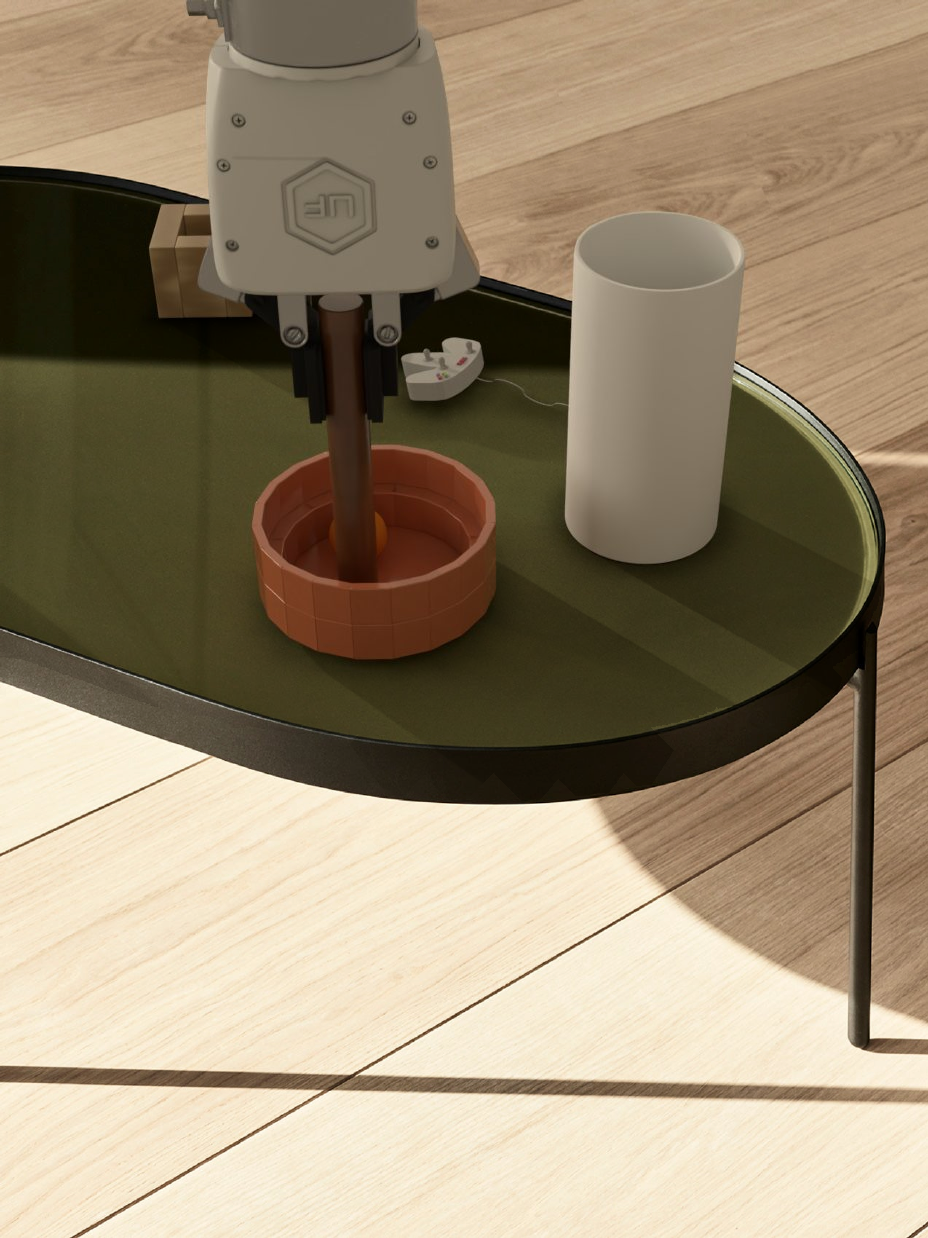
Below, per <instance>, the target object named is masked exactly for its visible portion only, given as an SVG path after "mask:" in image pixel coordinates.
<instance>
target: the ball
mask: <svg viewBox="0 0 928 1238" xmlns="http://www.w3.org/2000/svg"><path fill="white" fill-rule="evenodd" d="M375 523H376V541H377V557H378V556H379V555H380V554H381V552H382V551H383V549H384V547H385V545H386V541H387V528H386V525H385V523H384V521H383V519H382V518H381V516H380V515H379V514H378V513H377V512H375ZM329 540H330V544H331V546H332V548H333V550H334V552H335V553H336V544H335V531H334V519H333V521H332V523H331V526H330V530H329Z"/></svg>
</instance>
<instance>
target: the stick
mask: <svg viewBox="0 0 928 1238" xmlns="http://www.w3.org/2000/svg"><path fill="white" fill-rule="evenodd" d="M364 305H365V304H364V300H363V298H362V297H361V295H360V294H349V295H322V297H320V298H319V300H318V302H317V312H318V314H319V326H320V339H321V342H322V356H323V370H324V384H325V398H326V411H327V416H326V433H327V448H328V451H329V463H330V476H331V490H332V504H333V517H334V531H335V544H336V558H337V572H338V581H343V582H348V583H379V578H378V559H377V541H376V523H375V505H374V486H373V468H372V450H371V445H372V436H371V435H372V433H371V420H367V405H366V388H365V371H364V353H363V348H364V339H365V306H364Z"/></svg>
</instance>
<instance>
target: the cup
mask: <svg viewBox="0 0 928 1238" xmlns="http://www.w3.org/2000/svg"><path fill="white" fill-rule="evenodd" d="M574 245H575V246H574V251H573V269H572V270H573V273H572V296H571V297H572V299H571V301H572V302H571V326H570V327H571V328H570V353H569V355H570V356H569V357H570V358H569V382H568V383H569V384H568V385H569V387H568V405H569V406H568V413H567V439H566V440H567V442H566V446H567V447H566V470H565V471H566V473H565V504H564V520H565V524H566V527H567V529H568V531H569V533H570V534H571V536H572V537H573V538H574V539H575V540H576V541H577V542H578V543H579V544H580V545H582V546H583V547H585V548H586V549H588V550H589V551H591V552H593V553H595V554H597V555H599V556H600V557H604V558H607V559H610V560H614V561H619V562H622V563H628V564H638V565H640V564H641V565H651V564H652V565H653V564H662V563H668V562H673V561H678V560H680V559H684V558H686V557H689V556H691V555H693V554H695V553H697V552H698V551H699V550H702V549H703V548H704V547H705V546H706V545H707V544H709V542H710V541H711V540H712V538H713V537H714V535H715V533H716V531H717V527H718V521H719V520H718V518H719V510H720V501H721V490H722V481H723V473H724V464H725V453H726V445H727V436H728V426H729V417H730V408H731V399H732V388H733V381H734V380H733V379H734V371H735V361H736V354H737V353H736V352H737V344H738V343H737V342H738V333H739V324H740V315H741V314H740V313H741V306H742V297H743V286H744V277H745V267H746V250H745V247H744V245H743V243H742V241H741V239H740V238H739V237H737V235H736V234H735V233H733V232H732V231H731V230H729V229H727V228H726V227H725V226H723V225H721V224H719V223H717V222H714V221H712V220H709V219H707V218H704V217H700V216H696V215H692V214H689V213H688V214H687V213H683V212H682V213H681V212H675V211H662V210H660V211H658V210H655V211H654V210H652V211H651V210H649V211H636V212H627V213H621V214H617V215H614V216H610V217H607V218H604V219H602V220H600V221H597V222H595V223H593V224H591V225H590V226H589V227H587V228H586V229H585V230H583V231H582V232H581V234H580V235H579V236H578V237H577V239H576V242H575V244H574Z"/></svg>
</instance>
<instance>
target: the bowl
mask: <svg viewBox="0 0 928 1238" xmlns="http://www.w3.org/2000/svg"><path fill="white" fill-rule="evenodd" d="M371 450H372V468H373V486H374V505H375V512H377V513H378V514H379V515H380V516H381V518H382V519H383V521H384V523H385V525H386V528H387V541H386V545H385V547H384V549H383V551H382V552H381V554H380V555H379V556H378V557H377V559H378V578H379V583H348V582H343V581H338V572H337V558H336V553H335V552H334V550H333V548H332V546H331V544H330V540H329V530H330V526H331V523H332V521H333V519H334V517H333V504H332V490H331V476H330V463H329V450H327V451H323V452H321V453H319V454H316V455H314V456H311V457H308V458H306V459H305V460H301V461H299V462H296V463H294V464H292V465H291V466H290V467H288V468H287V469H286V470H284V471H283V472H282V473H281V474H279V475H278V476H276V477H275V478H273V479H272V480H271V481H270V482H269V483H268V484H267V486H266V487H265V489H264V490H263V492H262V493H261V495H260V496H259V497H258V499H257V500H256V502H255V503H254V508H253V516H252V522H251V531H252V538H253V539H252V540H253V549H254V556H255V557H254V558H255V563H256V564H255V565H256V566H255V567H256V575H257V584H258V589H259V590H258V591H259V596H260V597H259V598H260V599H261V602H262V605H263V607H264V609H265V612H266V615H267V617H268V618H269V620H271V622H272V623H273V624H274V625H276V627H277V628H279V630H280V631H282V633H283V634H285V635H286V636H287V638H289V639H291V640H293V641H296V642H297V643H299V644H301V645H303V646H305V647H307V648H310V649H312V650H314V651H315V652H319V653H323V654H328V655H333V656H338V657H343V658H347V659H351V660H394V659H399V658H403V657H409V656H412V655H416V654H421V653H425V652H430V651H433V650H434V649H435V650H436V649H437V648H439V647H441V646H443V645H445V644H447V643H449V642H452V641H453V640H455V639H458V638H460V637H461V636H463V635H464V634H465V633H466V632H467V631H468V630H470V629H471V628H472V627H473V626H474V625H475V624H476V623H477V622H478V621H479V620H480V619H482V617H483V616H484V615H486V614H487V613H486V612H487V611H488V608H489V607H490V604H491V602H492V600H493V599H494V596H495V594H496V591H497V516H496V515H497V514H496V513H497V512H496V510H497V509H496V500H495V498H494V496H493V495H492V493H491V491H490V489H489V488H488V485H486V483H485V480H484V479H483V478H481V477H480V476H479V475H478V474H476V473H475V472H474V471H472V470H471V469H470V468H469V467H467V466H466V465H465V464H463V463H462V462H461V461H458V460H456V459H453V458H451V457H448V456H446V455H443V454H441V453H438V452H436V451H434V450H430V449H424V448H419V447H413V446H409V445H408V446H407V445H401V444H371Z"/></svg>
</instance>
